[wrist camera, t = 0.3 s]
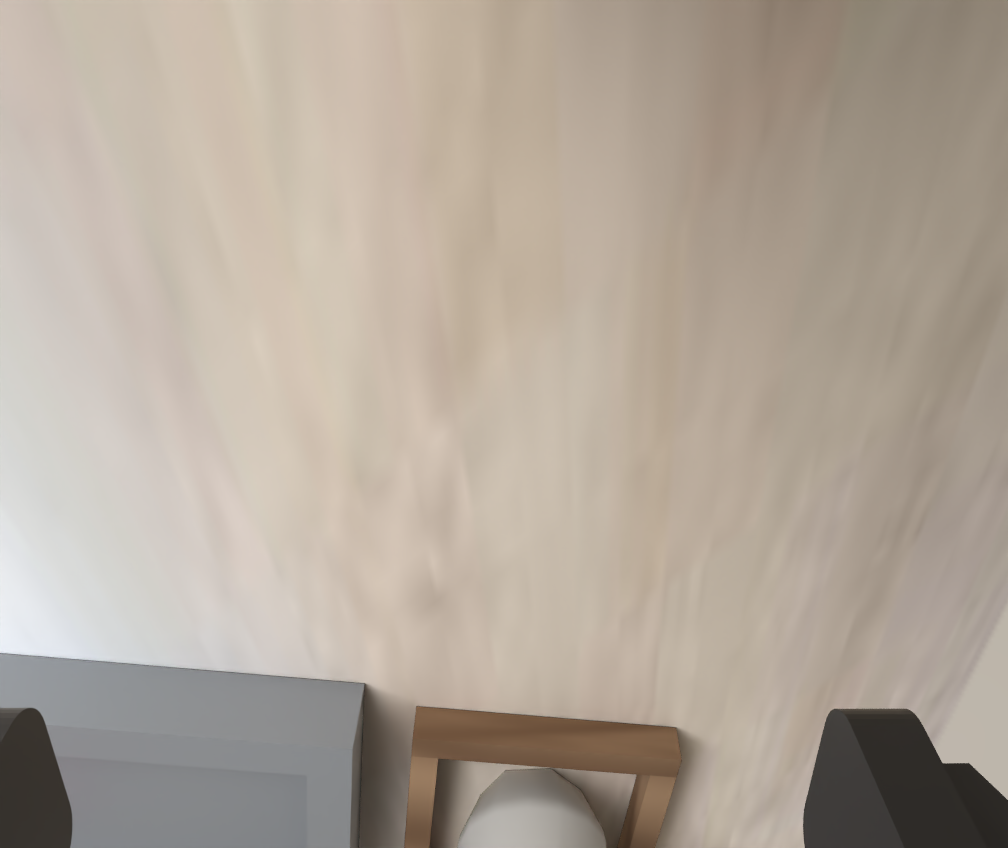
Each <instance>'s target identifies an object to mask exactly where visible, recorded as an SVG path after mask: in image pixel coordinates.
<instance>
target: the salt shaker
mask: <svg viewBox="0 0 1008 848" xmlns="http://www.w3.org/2000/svg"><path fill="white" fill-rule="evenodd" d="M457 848H606V840H605V836H604V832H603V829H602V827H601V825H600V823H599V822H598V820H597V818H596V816H595V815H594V813H593V811H592V809H591V808H590V806H589V804H588V802H587V801H586V799H585V797H584V795H583V794H582V792H581V790H580V789H578V788H577V787H576V786H574V785H573V784H571V783H570V782H569V781H567V780H566V779H564V778H563V777H562V776H560V775H559V774H557V773H556V772H555V771H553V770H552V769H529V770H508V771H504V772H503V773H502V774H501V775H500V776H499V777H498V778H497V779H496V780H495V781H494V782H493V783H492V784H491V785H490V786H489V787H488V788H487V789H486V790H485V791H484V792H483V793H482V794H481V795H480V797H479V799H478V801H477V803H476V805H475V807H474V809H473V811H472V813H471V815H470V817H469V819H468V821H467V823H466V825H465V827H464V829H463V830H462V832H461V834H460V838H459V842H458V847H457Z"/></svg>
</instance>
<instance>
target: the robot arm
mask: <svg viewBox="0 0 1008 848" xmlns="http://www.w3.org/2000/svg"><path fill="white" fill-rule="evenodd" d="M72 826H73V824H72V810H71V806H70V802H69V799H68V796H67V792H66V789H65V786H64V783H63V779H62V776H61V773H60V770H59V766H58V763H57V760H56V757H55V753H54V750H53V747H52V744H51V740H50V737H49V734H48V731H47V727H46V724H45V721H44V719H43V716H42V715H41V713H40V712H39V711H38V710H37V709H35V708H0V848H70V846H71V839H72ZM803 832H804V844H805V848H1008V800H1007V799H1006V798H1005V797H1004V796H1003V795H1002V794H1001V793H1000V792H999V791H998V790H997V789H995V788H994V787H993V786H992V785H991V784H990V783H989V782H988V781H987V780H986V779H985V778H984V777H983V776H982V775H981V774H980V773H978V771H976V770H975V769H974V768H973V767H972V766H971V765H970V764H969V763H966V764H965V763H960V764H959V763H957V764H956V763H954V764H943V763H942V762H941V760H940V758H939V756H938V754H937V752H936V750H935V748H934V746H933V744H932V742H931V741H930V739H929V737H928V735H927V733H926V731H925V729H924V727H923V725H922V724H921V722H920V720H919V719H918V718H917V716H916V715H915V714H914V713H913V712H912V711H910V710H908V709H833V710H832V711H831V712H830V713H829V714H828V716H827V719H826V722H825V726H824V730H823V734H822V738H821V742H820V746H819V750H818V754H817V758H816V762H815V767H814V771H813V775H812V779H811V783H810V787H809V791H808V795H807V799H806V803H805V808H804V817H803Z"/></svg>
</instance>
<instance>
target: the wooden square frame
mask: <svg viewBox="0 0 1008 848" xmlns="http://www.w3.org/2000/svg"><path fill="white" fill-rule="evenodd" d="M438 759H451V760H463V761H476V762H488V763H501V764H513V765H526V766H538V767H551V768H563V769H576V770H588V771H601V772H613V773H626V774H637V777H636V781H635V784H634V788H633V792H632V795H631V799H630V803H629V806H628V810H627V814H626V818H625V821H624V825H623V829H622V832H621V836H620V840H619V843H618V847H617V848H655V846H656V843H657V839H658V836H659V833H660V830H661V826H662V823H663V820H664V817H665V813H666V810H667V807H668V803H669V800H670V797H671V794H672V790H673V787H674V784H675V781H676V777H677V774H678V771H679V767H680V764H681V761H682V759H681V753H680V747H679V742H678V736H677V730H676V728H673V727H660V726H648V725H636V724H624V723H612V722H600V721H587V720H575V719H563V718H551V717H539V716H527V715H514V714H502V713H490V712H478V711H466V710H453V709H441V708H429V707H416V715H415V724H414V732H413V742H412V755H411V768H410V781H409V793H408V806H407V819H406V832H405V845H404V848H429V845H430V835H431V825H432V815H433V805H434V795H435V785H436V775H437V765H438Z"/></svg>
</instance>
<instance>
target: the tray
mask: <svg viewBox="0 0 1008 848" xmlns="http://www.w3.org/2000/svg"><path fill="white" fill-rule="evenodd" d="M364 686H365V684H362V683H350V682H338V681H326V680H314V679H302V678H290V677H278V676H266V675H254V674H242V673H230V672H218V671H206V670H194V669H181V668H169V667H157V666H145V665H133V664H121V663H109V662H97V661H85V660H73V659H61V658H49V657H37V656H25V655H13V654H1V653H0V708H35V709H37V710H38V711H39V712H40V713H41V715H42V716H43V719H44V721H45V724H46V727H47V731H48V734H49V737H50V740H51V744H52V747H53V750H54V753H55V757H56V760H57V763H58V766H59V770H60V773H61V776H62V779H63V783H64V786H65V789H66V792H67V796H68V799H69V802H70V806H71V810H72V824H73V826H72V839H71V846H70V848H359V825H360V797H361V769H362V742H363V714H364Z"/></svg>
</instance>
